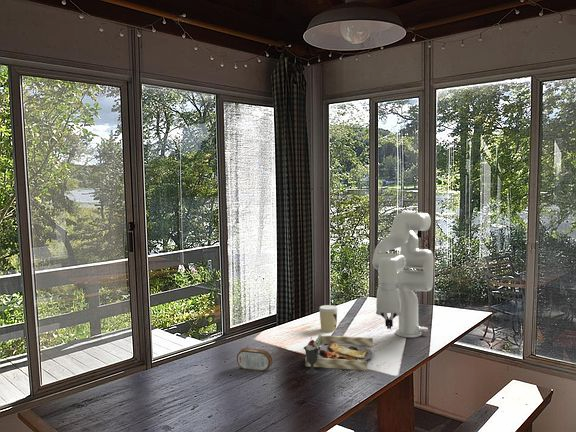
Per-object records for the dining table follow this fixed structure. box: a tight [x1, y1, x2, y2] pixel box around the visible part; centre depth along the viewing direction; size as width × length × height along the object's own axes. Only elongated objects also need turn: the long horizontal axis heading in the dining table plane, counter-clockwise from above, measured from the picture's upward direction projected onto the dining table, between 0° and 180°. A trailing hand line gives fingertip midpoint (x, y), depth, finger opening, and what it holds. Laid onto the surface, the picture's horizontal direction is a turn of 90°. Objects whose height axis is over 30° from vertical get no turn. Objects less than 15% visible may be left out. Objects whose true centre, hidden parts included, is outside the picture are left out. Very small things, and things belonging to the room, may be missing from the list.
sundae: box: [303, 337, 321, 376], centre depth 193 cm, size 7×7×15 cm
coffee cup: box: [318, 304, 338, 333], centre depth 250 cm, size 9×9×12 cm
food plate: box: [317, 342, 374, 361], centre depth 211 cm, size 25×23×4 cm
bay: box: [304, 334, 374, 371], centre depth 213 cm, size 25×31×4 cm
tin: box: [236, 347, 273, 372], centre depth 199 cm, size 15×3×8 cm, turn 71°
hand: (389, 327), depth 208 cm, fingers closed
